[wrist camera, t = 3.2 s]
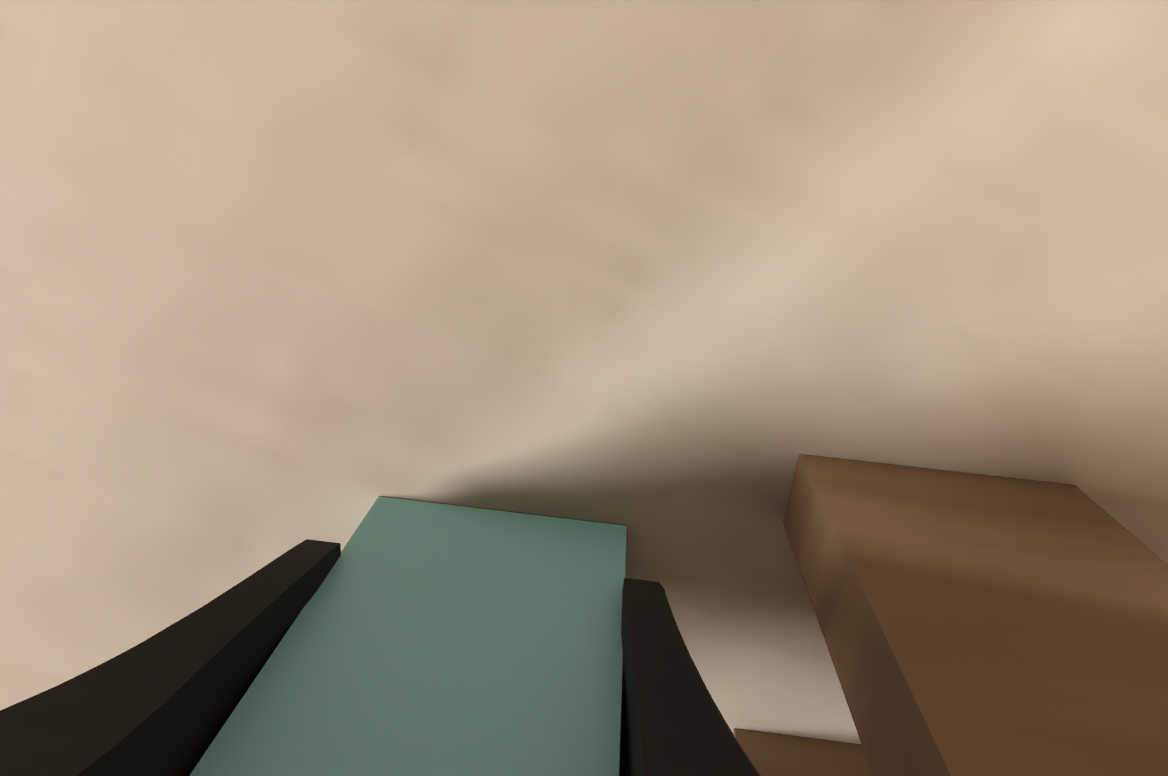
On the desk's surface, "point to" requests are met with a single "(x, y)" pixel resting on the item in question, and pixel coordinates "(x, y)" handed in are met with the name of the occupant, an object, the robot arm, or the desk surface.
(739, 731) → the walnut tile
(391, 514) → the teal tile
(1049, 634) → the walnut tile
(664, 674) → the robot arm
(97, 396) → the desk surface
